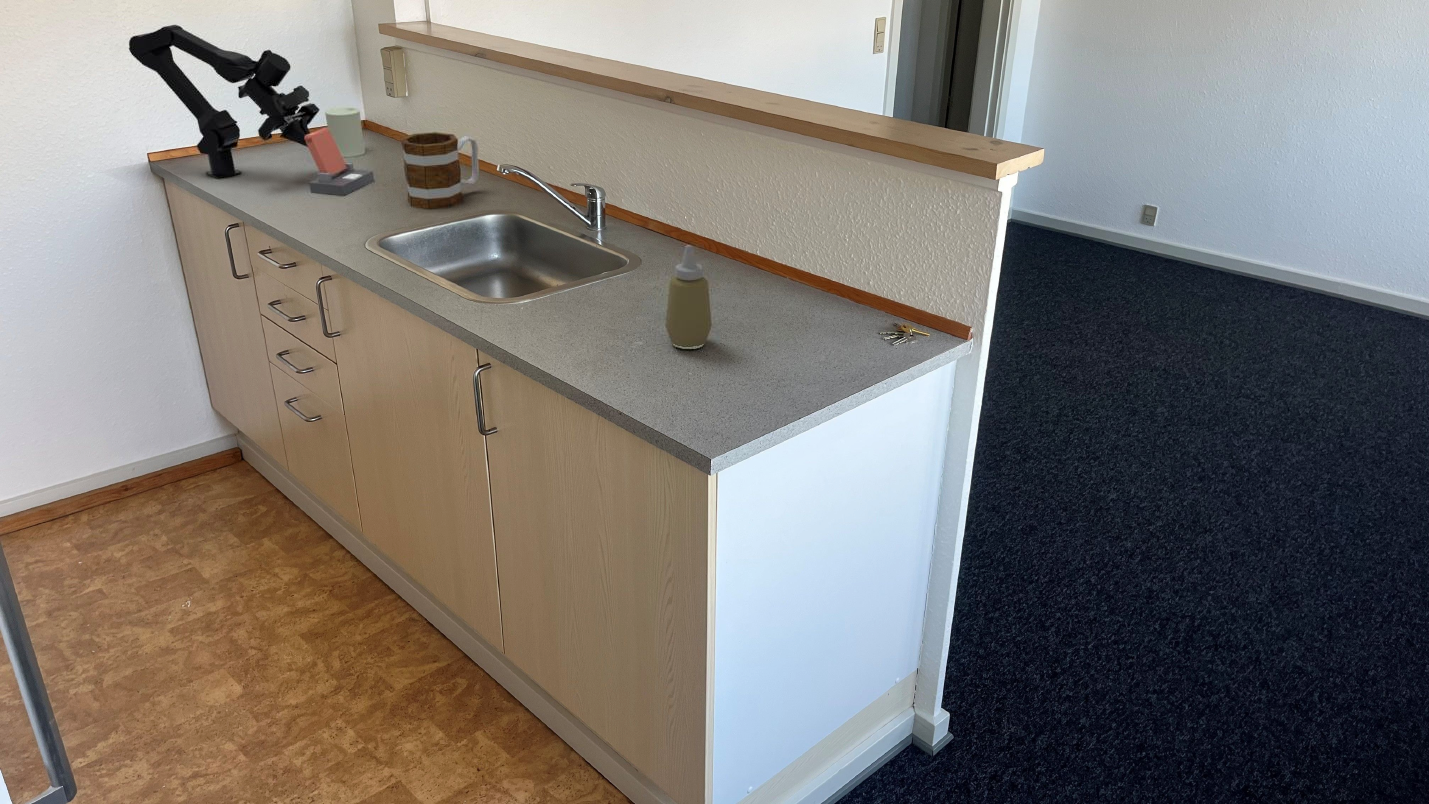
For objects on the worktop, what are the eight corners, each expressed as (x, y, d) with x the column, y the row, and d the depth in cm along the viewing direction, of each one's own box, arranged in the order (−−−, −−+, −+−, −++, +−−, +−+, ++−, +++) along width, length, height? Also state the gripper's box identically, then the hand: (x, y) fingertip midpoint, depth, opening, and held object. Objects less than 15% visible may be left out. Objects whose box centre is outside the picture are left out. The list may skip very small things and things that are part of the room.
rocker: (322, 178, 261) (302, 136, 257) (340, 170, 268) (321, 128, 264) (329, 176, 260) (309, 133, 256) (347, 168, 267) (328, 126, 263)
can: (372, 152, 295) (366, 108, 289) (346, 159, 288) (339, 114, 282) (350, 147, 299) (344, 104, 294) (323, 153, 292) (316, 110, 287)
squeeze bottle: (664, 335, 188) (664, 238, 180) (709, 334, 189) (711, 238, 180) (666, 354, 181) (666, 254, 173) (713, 353, 182) (715, 254, 173)
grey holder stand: (311, 192, 260) (308, 174, 258) (342, 177, 272) (340, 160, 270) (343, 195, 258) (341, 177, 256) (374, 180, 270) (371, 163, 268)
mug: (426, 213, 248) (418, 149, 241) (396, 200, 256) (388, 138, 249) (496, 196, 260) (491, 135, 253) (465, 185, 268) (460, 125, 261)
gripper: (259, 84, 247) (309, 134, 250) (306, 70, 264) (352, 117, 266) (237, 115, 253) (285, 164, 256) (284, 100, 269) (329, 146, 272)
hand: (314, 147), depth 262 cm, fingers closed
